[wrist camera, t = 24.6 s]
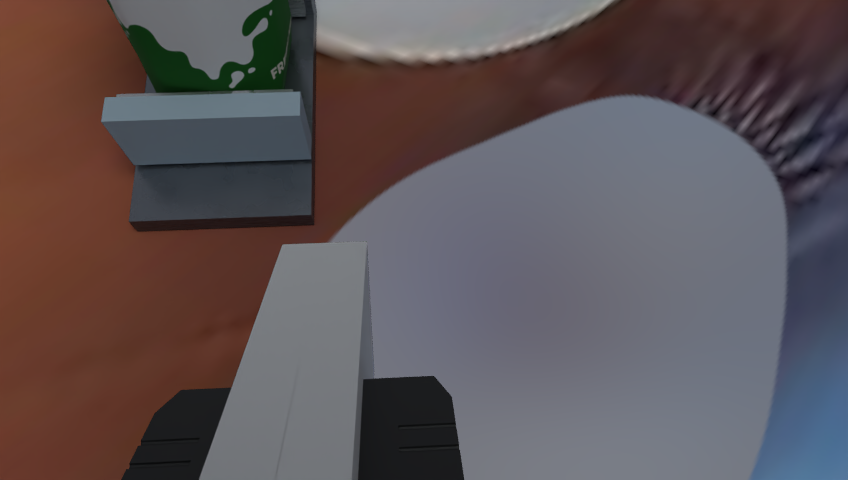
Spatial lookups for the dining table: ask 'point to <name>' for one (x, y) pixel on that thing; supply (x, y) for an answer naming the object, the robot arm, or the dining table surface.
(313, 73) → the vise base
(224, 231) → the dining table surface
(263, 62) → the soya milk
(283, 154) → the block
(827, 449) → the dining table surface
